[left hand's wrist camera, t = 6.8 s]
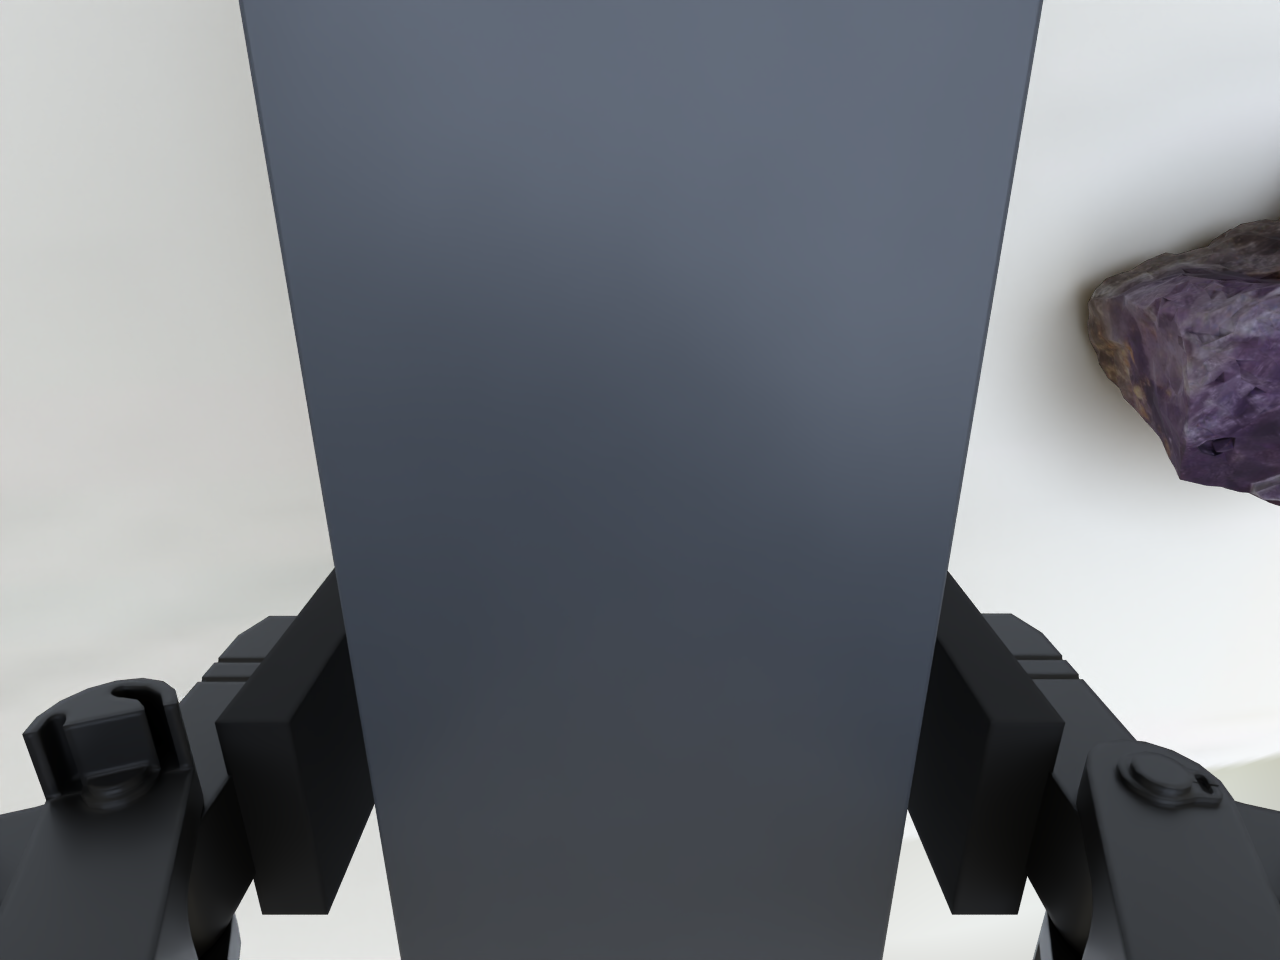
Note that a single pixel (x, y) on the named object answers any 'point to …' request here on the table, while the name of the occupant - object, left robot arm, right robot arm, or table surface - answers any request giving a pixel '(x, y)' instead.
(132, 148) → the table surface
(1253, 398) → the rock
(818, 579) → the bar
